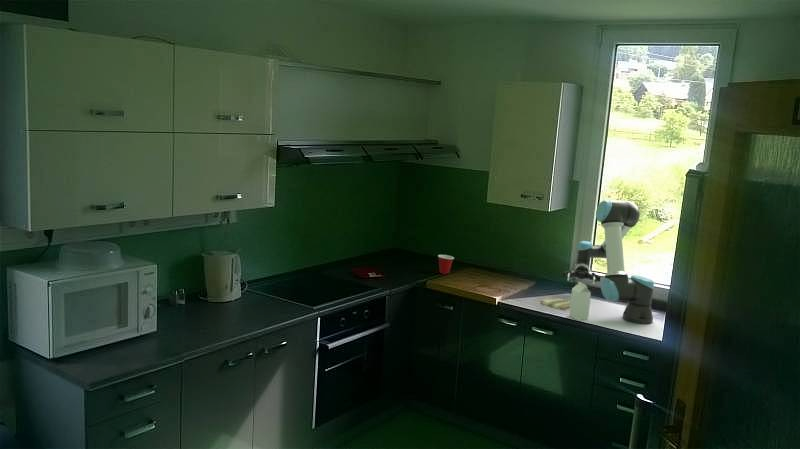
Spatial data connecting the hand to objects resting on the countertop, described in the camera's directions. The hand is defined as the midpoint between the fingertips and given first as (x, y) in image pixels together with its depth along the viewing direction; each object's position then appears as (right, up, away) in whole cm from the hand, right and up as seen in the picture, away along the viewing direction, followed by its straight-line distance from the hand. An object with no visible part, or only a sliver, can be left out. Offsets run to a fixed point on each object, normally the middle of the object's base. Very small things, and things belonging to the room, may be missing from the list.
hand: (581, 280), depth 345 cm
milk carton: (-4, -19, -10) cm, 22 cm away
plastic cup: (-70, -2, +67) cm, 97 cm away
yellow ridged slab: (-9, -15, +12) cm, 21 cm away
